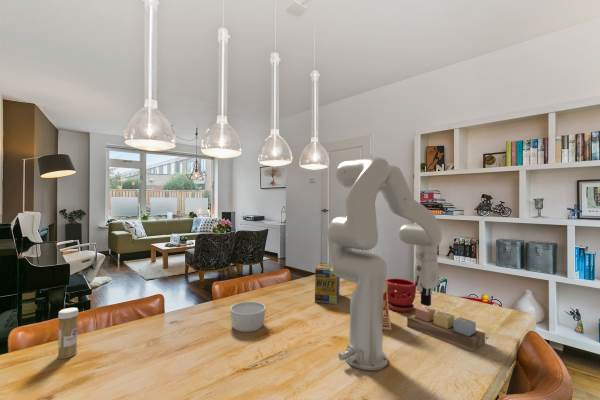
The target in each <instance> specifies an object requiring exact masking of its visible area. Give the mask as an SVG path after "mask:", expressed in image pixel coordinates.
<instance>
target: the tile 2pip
mask: <svg viewBox="0 0 600 400" xmlns="http://www.w3.org/2000/svg"><path fill="white" fill-rule="evenodd" d="M454 320H455V315H454V314H451V313H447V312H445V311H442V310H440V311H437V312H435V314H434V320H433V324H435V325H438V326H441V327H444V328H447V329H448V328H450V327H452V326H453V321H454Z"/></svg>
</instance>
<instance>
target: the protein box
mask: <svg viewBox="0 0 600 400" xmlns="http://www.w3.org/2000/svg"><path fill="white" fill-rule="evenodd" d="M314 274H315V276H314V303H317V302H319V303H320V304H330V305H337V304H338V300H339V297H340V284H341V283H340V279H341V278H339V277H338V276H336V275H335V273H334V272H333V269H332V266H331V263H327V262H319V264H318V265H317V267H316V268H315V271H314ZM319 303H318V304H319Z"/></svg>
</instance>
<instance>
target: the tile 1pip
mask: <svg viewBox="0 0 600 400" xmlns="http://www.w3.org/2000/svg"><path fill="white" fill-rule="evenodd" d="M476 324H477V322H476V321H472V320H470V319H466V318H464V317H460V316H459V317H458V318H457V319H454V321H453V331H455V332H458V333H461V334H463V335H466V336H471V335H472V334H474V333H476V330H477V329H476V328H477V327H476Z"/></svg>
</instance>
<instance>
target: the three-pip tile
mask: <svg viewBox="0 0 600 400" xmlns="http://www.w3.org/2000/svg"><path fill="white" fill-rule="evenodd" d="M435 313H436V309H435V308H432V307H430V306H426V305H421V306H417V307H415V314H416V318H419V319H421V320H424V321H427V322H429V321H431V320H434V314H435Z"/></svg>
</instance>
